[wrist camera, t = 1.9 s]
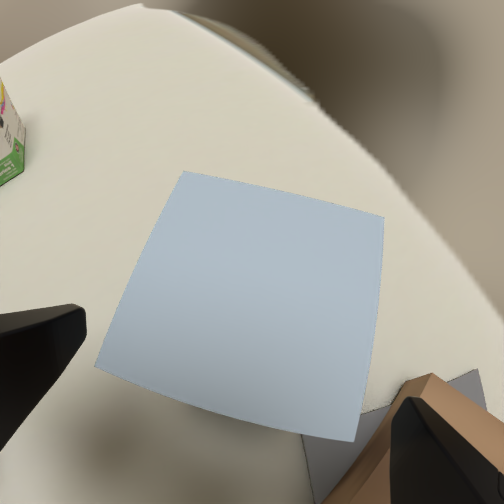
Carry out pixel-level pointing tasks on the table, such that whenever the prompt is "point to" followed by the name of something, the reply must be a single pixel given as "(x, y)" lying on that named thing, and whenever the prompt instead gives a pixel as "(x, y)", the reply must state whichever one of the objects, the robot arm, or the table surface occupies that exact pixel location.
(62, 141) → the table surface
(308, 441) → the build mat
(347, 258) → the pillar block
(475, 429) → the base block
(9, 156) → the ink box
